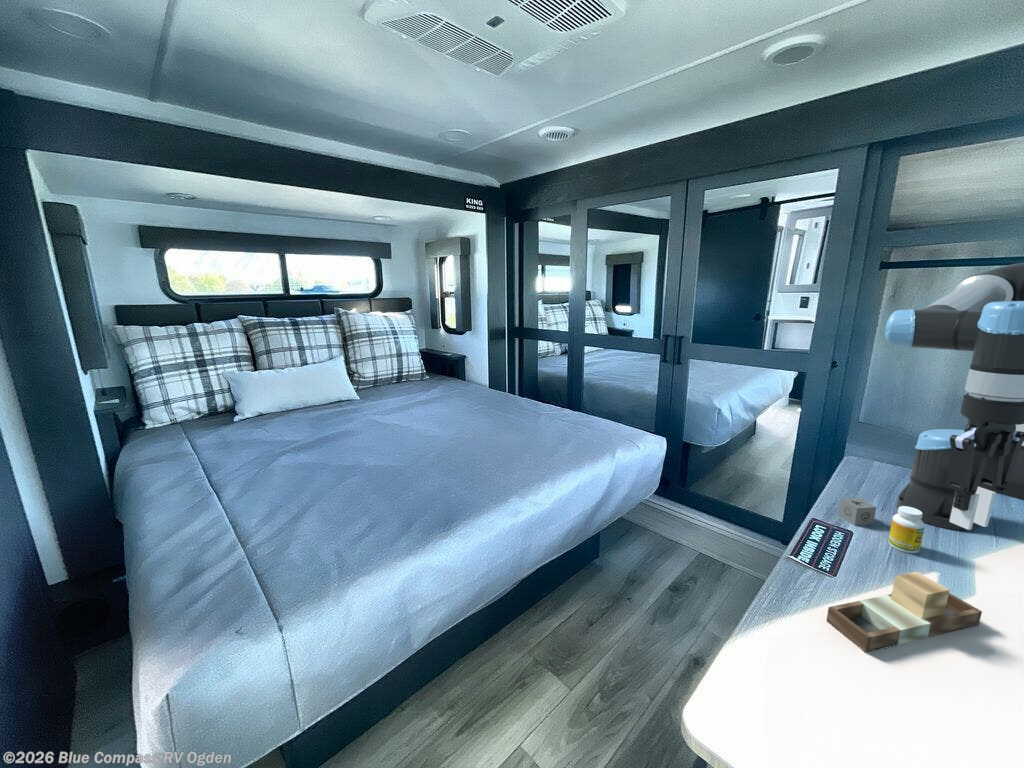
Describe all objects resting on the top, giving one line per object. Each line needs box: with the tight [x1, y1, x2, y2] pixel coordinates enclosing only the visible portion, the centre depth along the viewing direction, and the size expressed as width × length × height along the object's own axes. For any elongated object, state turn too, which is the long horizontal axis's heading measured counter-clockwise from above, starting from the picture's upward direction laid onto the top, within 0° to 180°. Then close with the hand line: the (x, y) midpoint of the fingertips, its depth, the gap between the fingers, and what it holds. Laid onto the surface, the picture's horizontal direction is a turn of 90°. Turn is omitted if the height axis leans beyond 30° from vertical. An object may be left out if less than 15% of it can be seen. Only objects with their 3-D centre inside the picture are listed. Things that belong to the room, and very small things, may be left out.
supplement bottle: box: [887, 506, 925, 554], centre depth 95 cm, size 5×5×10 cm
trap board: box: [826, 592, 983, 653], centre depth 74 cm, size 25×7×3 cm, turn 101°
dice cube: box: [838, 497, 877, 527], centre depth 107 cm, size 5×5×5 cm
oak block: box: [891, 571, 950, 619], centre depth 74 cm, size 5×5×5 cm
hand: (968, 523), depth 72 cm, fingers open, 3 cm apart
